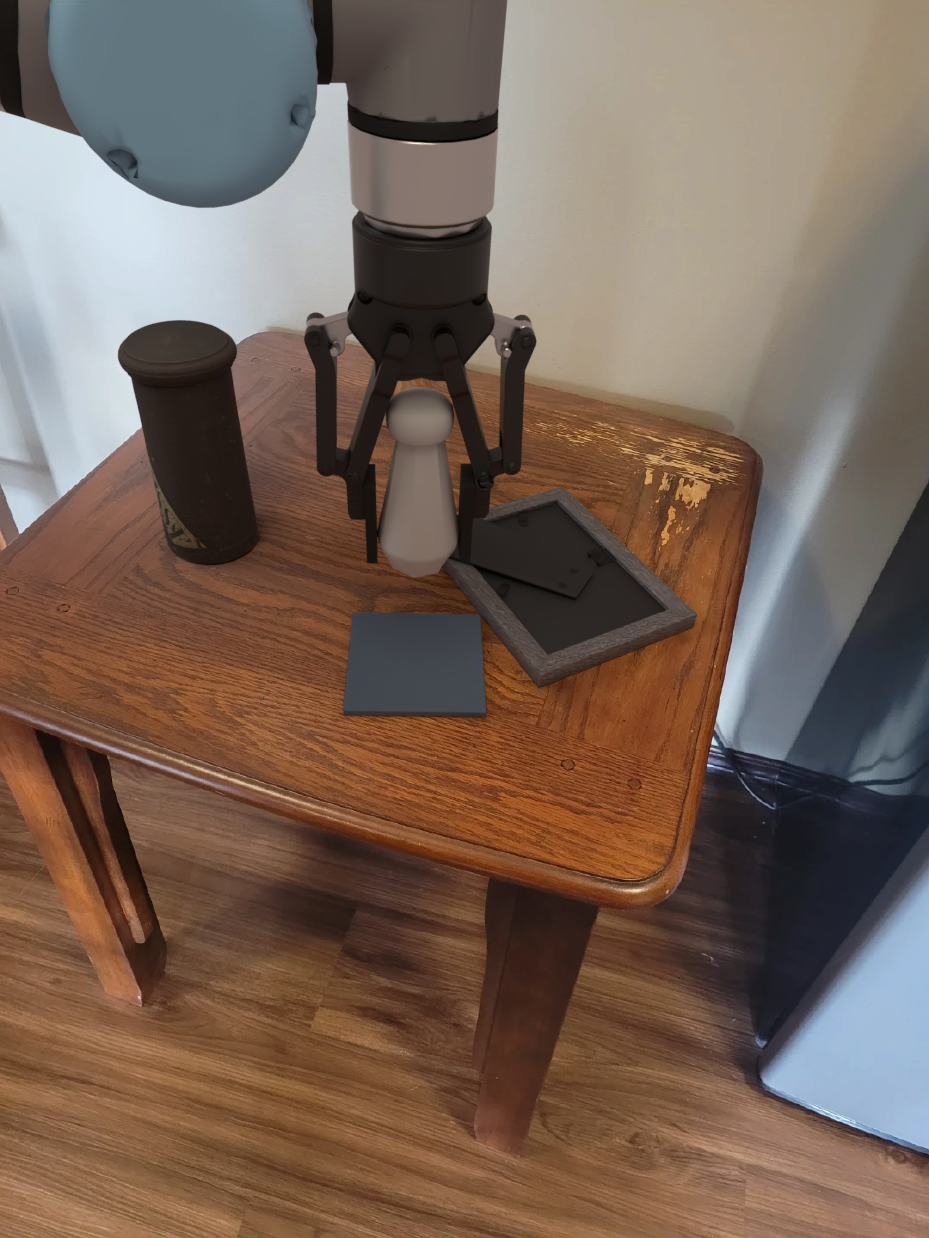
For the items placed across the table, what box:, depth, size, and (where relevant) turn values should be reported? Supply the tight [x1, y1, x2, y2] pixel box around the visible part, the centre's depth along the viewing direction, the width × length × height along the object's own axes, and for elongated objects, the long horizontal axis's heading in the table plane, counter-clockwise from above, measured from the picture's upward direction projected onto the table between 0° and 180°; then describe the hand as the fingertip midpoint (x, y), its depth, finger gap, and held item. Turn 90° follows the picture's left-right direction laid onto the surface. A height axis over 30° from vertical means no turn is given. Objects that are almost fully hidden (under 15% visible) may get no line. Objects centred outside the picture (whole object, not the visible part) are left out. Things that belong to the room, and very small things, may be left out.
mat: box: [342, 611, 487, 718], centre depth 69 cm, size 11×11×1 cm
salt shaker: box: [377, 387, 459, 579], centre depth 57 cm, size 6×6×13 cm
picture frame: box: [441, 486, 698, 689], centre depth 77 cm, size 16×2×21 cm
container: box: [117, 319, 259, 565], centre depth 73 cm, size 9×9×20 cm
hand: (418, 550), depth 61 cm, fingers closed on salt shaker, 6 cm apart
